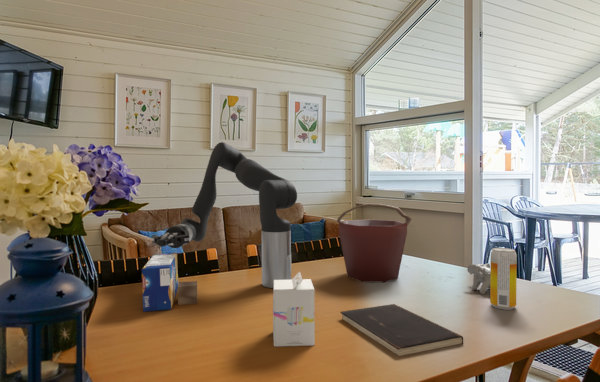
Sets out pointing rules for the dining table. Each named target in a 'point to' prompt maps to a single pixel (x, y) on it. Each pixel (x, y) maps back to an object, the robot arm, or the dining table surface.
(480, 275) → the gray elephant figurine
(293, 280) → the ink box
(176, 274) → the beverage box
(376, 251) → the bucket
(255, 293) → the dining table surface
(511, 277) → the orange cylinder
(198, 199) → the robot arm
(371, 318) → the hardcover book
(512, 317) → the dining table surface
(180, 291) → the walnut block
